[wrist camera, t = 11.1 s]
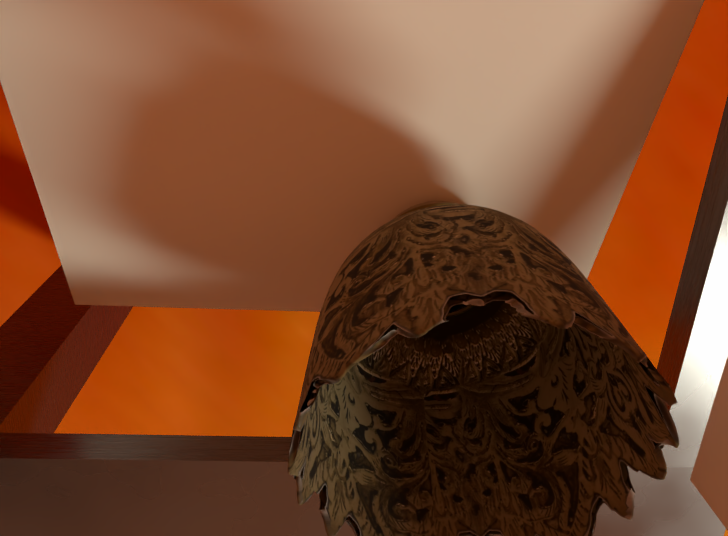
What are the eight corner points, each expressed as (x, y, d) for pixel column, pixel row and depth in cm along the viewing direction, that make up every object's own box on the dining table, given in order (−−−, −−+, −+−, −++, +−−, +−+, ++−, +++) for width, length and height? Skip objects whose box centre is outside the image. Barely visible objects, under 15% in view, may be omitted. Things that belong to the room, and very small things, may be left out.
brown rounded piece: (318, 349, 21) (308, 590, 15) (289, 136, 17) (258, 341, 10) (549, 334, 21) (643, 570, 15) (578, 116, 17) (729, 310, 10)
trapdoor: (-151, -484, 10) (-197, -494, 9) (828, -381, 11) (869, -383, 10) (85, 280, 22) (74, 306, 21) (562, 295, 23) (570, 320, 22)
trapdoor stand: (108, 267, 33) (-110, 536, 17) (55, -269, 25) (-484, -790, 8) (534, 280, 35) (721, 540, 18) (618, -221, 26) (1106, -584, 10)
